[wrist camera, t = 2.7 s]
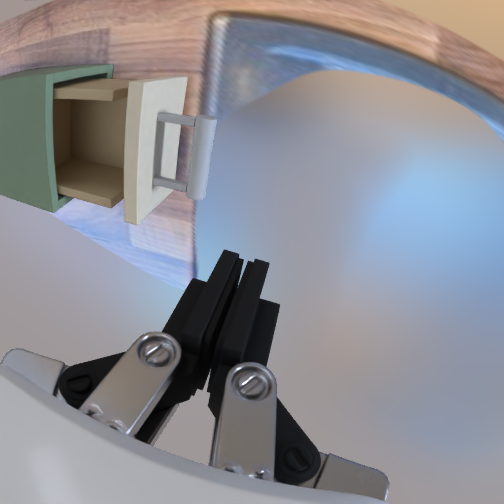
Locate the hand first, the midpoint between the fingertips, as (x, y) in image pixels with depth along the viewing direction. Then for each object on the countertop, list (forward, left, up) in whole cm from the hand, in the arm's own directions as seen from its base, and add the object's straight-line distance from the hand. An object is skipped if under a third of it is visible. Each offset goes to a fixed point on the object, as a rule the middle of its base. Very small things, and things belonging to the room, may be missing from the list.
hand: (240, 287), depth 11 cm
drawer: (0, -13, -15) cm, 20 cm away
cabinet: (0, -24, -16) cm, 29 cm away
